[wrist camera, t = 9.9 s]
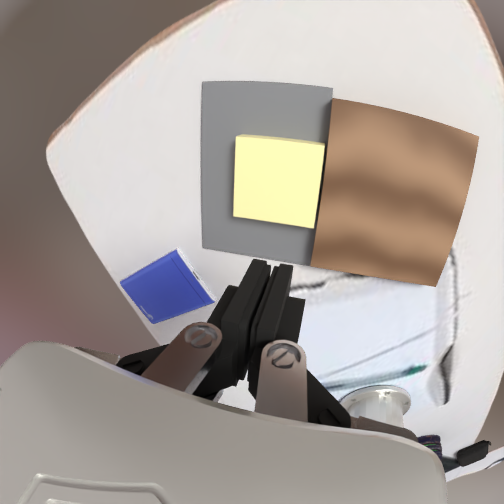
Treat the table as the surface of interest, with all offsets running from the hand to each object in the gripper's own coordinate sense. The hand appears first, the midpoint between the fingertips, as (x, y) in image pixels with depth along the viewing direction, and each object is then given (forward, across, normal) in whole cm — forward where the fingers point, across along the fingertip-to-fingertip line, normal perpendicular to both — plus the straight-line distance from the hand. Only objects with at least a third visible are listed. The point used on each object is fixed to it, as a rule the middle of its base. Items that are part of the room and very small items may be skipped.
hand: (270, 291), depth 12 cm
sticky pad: (+17, +2, -1) cm, 17 cm away
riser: (+17, -9, -1) cm, 19 cm away
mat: (+17, +4, -1) cm, 17 cm away
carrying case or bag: (+20, -61, +59) cm, 88 cm away
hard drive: (+18, +16, +16) cm, 29 cm away
